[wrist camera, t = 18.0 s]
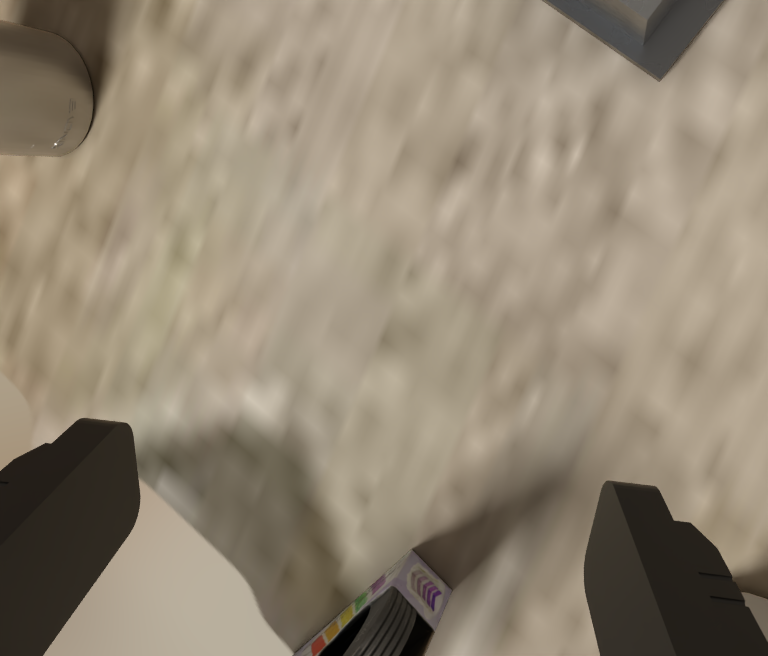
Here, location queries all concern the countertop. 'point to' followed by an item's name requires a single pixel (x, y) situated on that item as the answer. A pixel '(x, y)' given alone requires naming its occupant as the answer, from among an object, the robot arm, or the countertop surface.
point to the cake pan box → (387, 615)
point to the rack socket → (641, 27)
